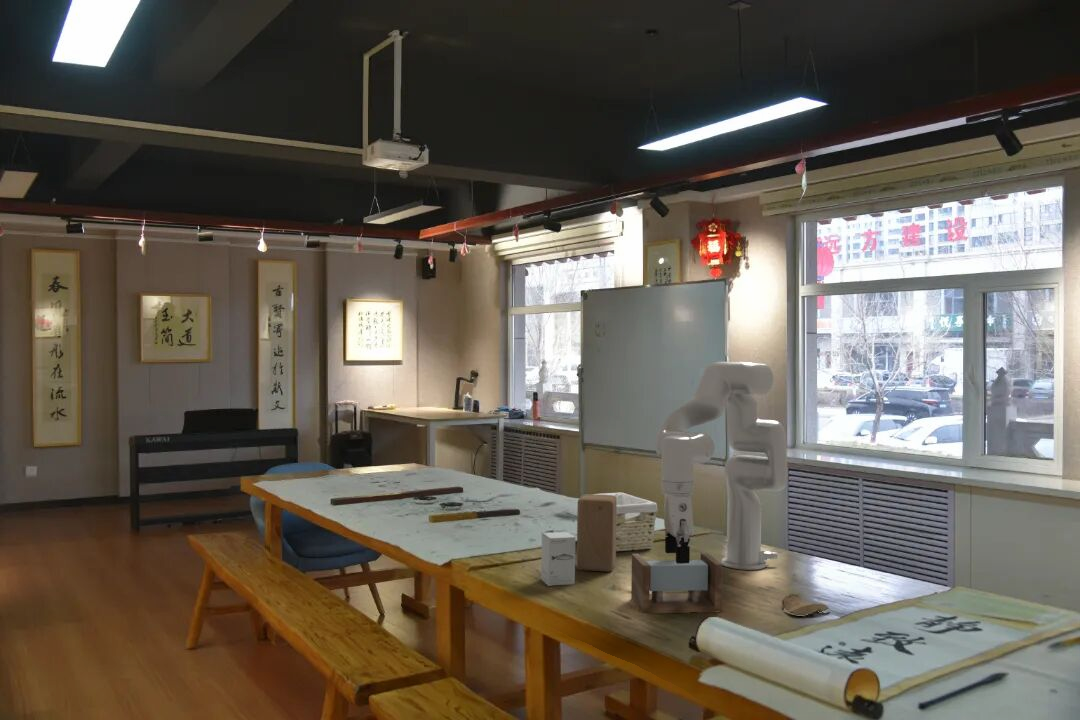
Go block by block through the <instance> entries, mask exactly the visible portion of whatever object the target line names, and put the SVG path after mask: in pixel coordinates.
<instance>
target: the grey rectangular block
mask: <svg viewBox="0 0 1080 720" xmlns="http://www.w3.org/2000/svg"><path fill="white" fill-rule="evenodd" d="M645 561H646V562H647V563H648V564H649V565H650V585H649V592H652V591H663V592H668V591H669V592H675V591H676V592H680V591H682V592H686V591H687V592H688V590H699V591H700V590H708V565H707V564H706V563H705V562H704V561H702V560H701V559H692V560H691V559H690V562H689V563H685V564H677V563H676V559H675V560H674V559H673V560H645Z"/></svg>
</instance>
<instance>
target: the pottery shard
mask: <svg viewBox="0 0 1080 720" xmlns="http://www.w3.org/2000/svg"><path fill="white" fill-rule="evenodd" d="M781 604H782V606H783V609H784V608H785V609H786V610H787V611H788V612H790V613H793V614H795V615H806V614H810V615H811V614H814V613H818V612H817V611H819V612H822V611H825V610H827V609H829V610H830V608H829V607H828V605H827V604H825V603H821V602H820V603H817V602H811V603H810V602H809V603H808V602H805V601H804V600H803V598H802V597H801V596H800V595H799V594H798V593H789V594H788V595H786V596H785V597H784V598H783V599H782V600H781Z"/></svg>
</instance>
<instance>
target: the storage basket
mask: <svg viewBox="0 0 1080 720" xmlns="http://www.w3.org/2000/svg"><path fill="white" fill-rule="evenodd" d="M595 495H614V496H616V499H617V505H616V552H626V551H627V552H630V551H639V550H648V549H649V550H650V549H652V548H653V544H654V536H655V534H654V533H655V528H656V527H655V525H656V524H655V523H656V518H657V517H656V516H657V512H658V505H657V502H655V501H652V500H648V499H645V498H641V497H638V496H634V495H631V494H628V493H624V492H622V491H621V492H619V491H618V492H605V493H595Z"/></svg>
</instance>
